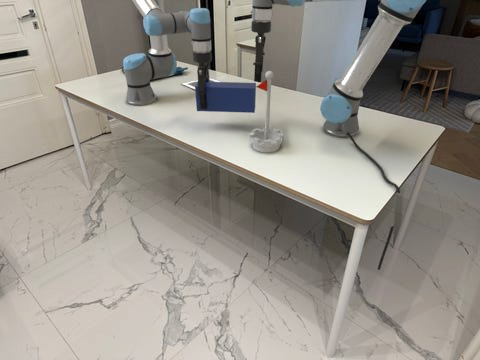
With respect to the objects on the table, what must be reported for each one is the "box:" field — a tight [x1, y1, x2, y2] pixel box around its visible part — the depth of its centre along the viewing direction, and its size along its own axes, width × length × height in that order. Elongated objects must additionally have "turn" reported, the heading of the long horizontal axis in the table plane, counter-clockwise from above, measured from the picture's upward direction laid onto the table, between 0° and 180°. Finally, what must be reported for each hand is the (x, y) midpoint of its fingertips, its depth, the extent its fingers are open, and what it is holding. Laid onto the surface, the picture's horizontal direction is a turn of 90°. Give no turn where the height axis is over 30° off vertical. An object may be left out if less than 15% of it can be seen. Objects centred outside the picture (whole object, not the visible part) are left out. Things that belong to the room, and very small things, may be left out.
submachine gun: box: [150, 66, 189, 81], centre depth 223 cm, size 34×4×25 cm
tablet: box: [181, 77, 221, 91], centre depth 200 cm, size 32×20×1 cm, turn 41°
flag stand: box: [249, 70, 284, 153], centre depth 129 cm, size 13×13×30 cm
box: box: [194, 81, 257, 114], centre depth 147 cm, size 25×8×11 cm, turn 85°
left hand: (205, 105), depth 150 cm, fingers closed on box, 7 cm apart
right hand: (258, 76), depth 141 cm, fingers open, 13 cm apart
